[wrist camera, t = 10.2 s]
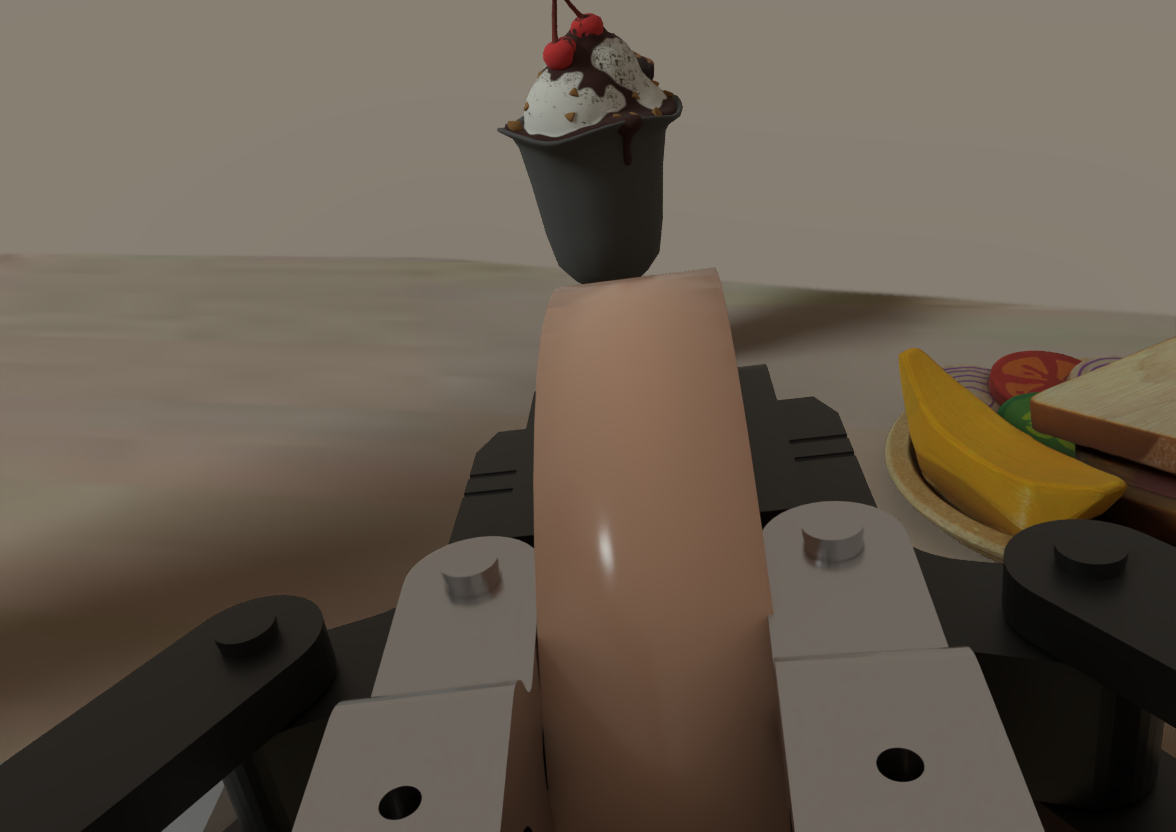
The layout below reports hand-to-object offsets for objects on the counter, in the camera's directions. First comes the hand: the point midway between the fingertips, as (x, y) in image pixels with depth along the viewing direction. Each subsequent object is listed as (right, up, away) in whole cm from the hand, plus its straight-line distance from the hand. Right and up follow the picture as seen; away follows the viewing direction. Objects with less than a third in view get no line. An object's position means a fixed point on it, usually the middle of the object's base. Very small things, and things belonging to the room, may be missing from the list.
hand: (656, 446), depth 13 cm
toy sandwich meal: (+15, -2, +16) cm, 22 cm away
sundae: (+1, +2, +28) cm, 28 cm away
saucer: (0, -3, -1) cm, 3 cm away
